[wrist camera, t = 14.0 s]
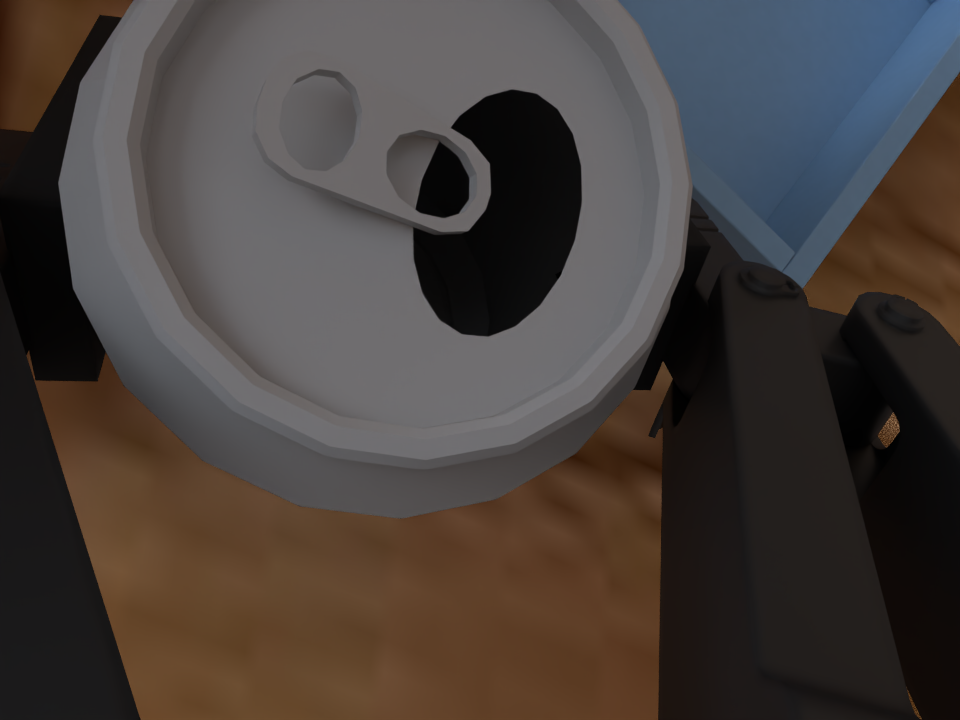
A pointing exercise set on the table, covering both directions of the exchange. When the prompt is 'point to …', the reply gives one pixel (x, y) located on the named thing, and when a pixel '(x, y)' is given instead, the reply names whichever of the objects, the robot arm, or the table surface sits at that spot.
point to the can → (377, 235)
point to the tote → (797, 108)
